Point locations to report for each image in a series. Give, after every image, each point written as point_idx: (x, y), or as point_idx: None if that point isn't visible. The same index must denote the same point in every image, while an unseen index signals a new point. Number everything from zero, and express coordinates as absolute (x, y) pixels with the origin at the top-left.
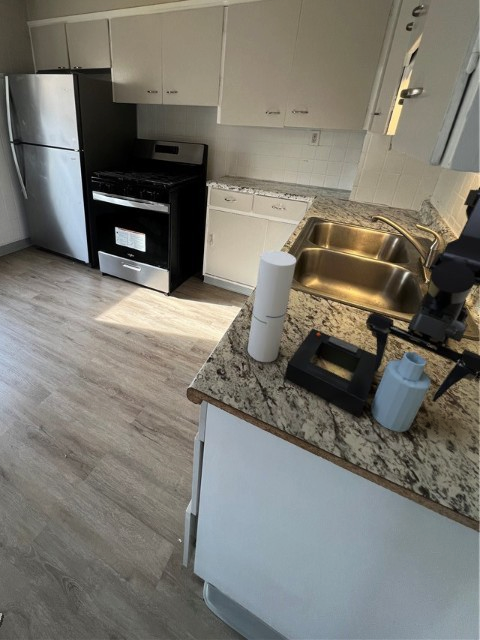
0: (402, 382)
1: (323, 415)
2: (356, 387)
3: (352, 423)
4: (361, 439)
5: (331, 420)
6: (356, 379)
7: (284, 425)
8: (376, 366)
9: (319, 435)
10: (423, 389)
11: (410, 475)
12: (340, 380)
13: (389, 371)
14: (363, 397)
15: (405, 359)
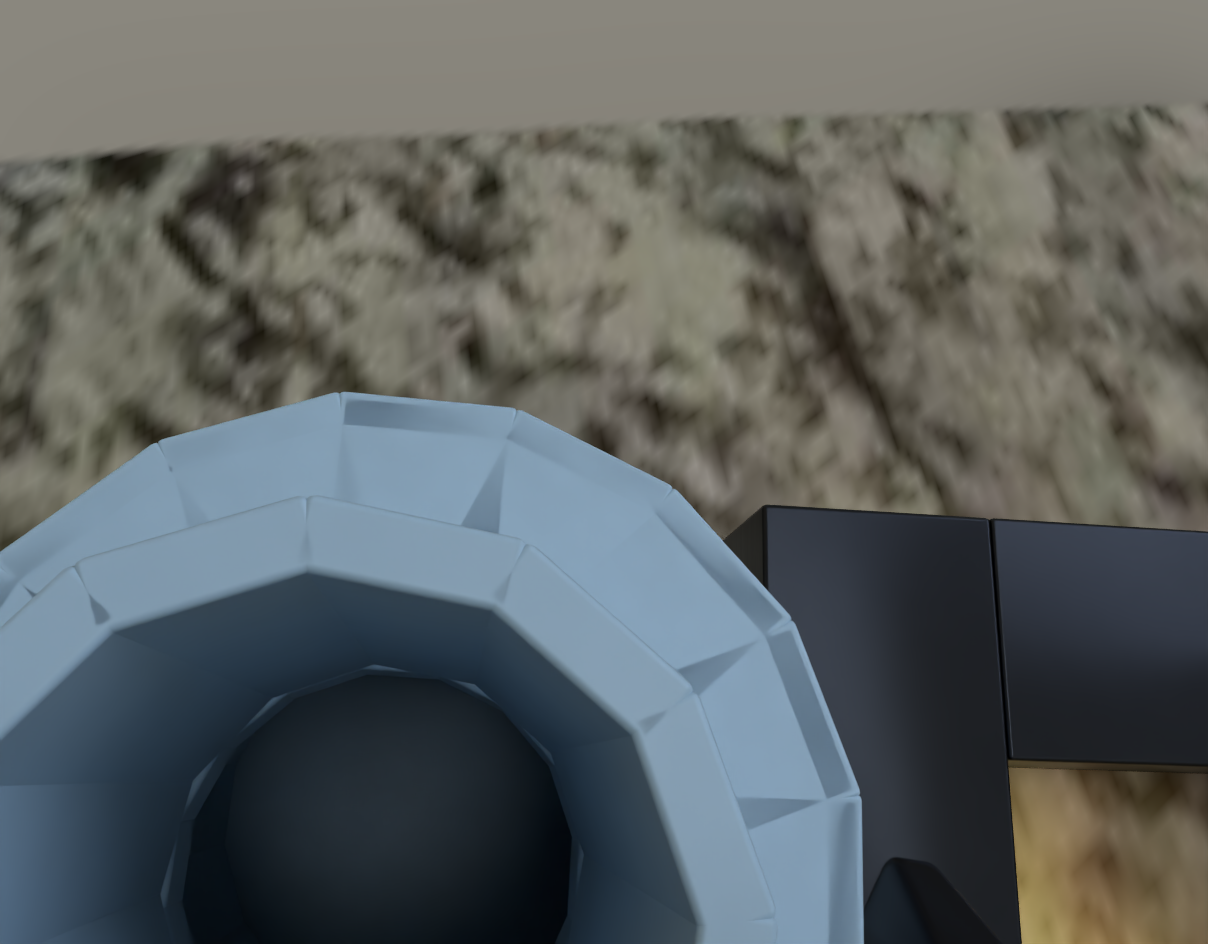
0: (489, 432)
1: (964, 392)
2: (913, 684)
3: (729, 464)
4: (623, 340)
5: (890, 381)
6: (958, 851)
7: (1154, 120)
8: (957, 910)
9: (914, 183)
10: (50, 521)
11: (221, 232)
12: (1109, 680)
13: (778, 634)
14: (798, 556)
15: (663, 664)
